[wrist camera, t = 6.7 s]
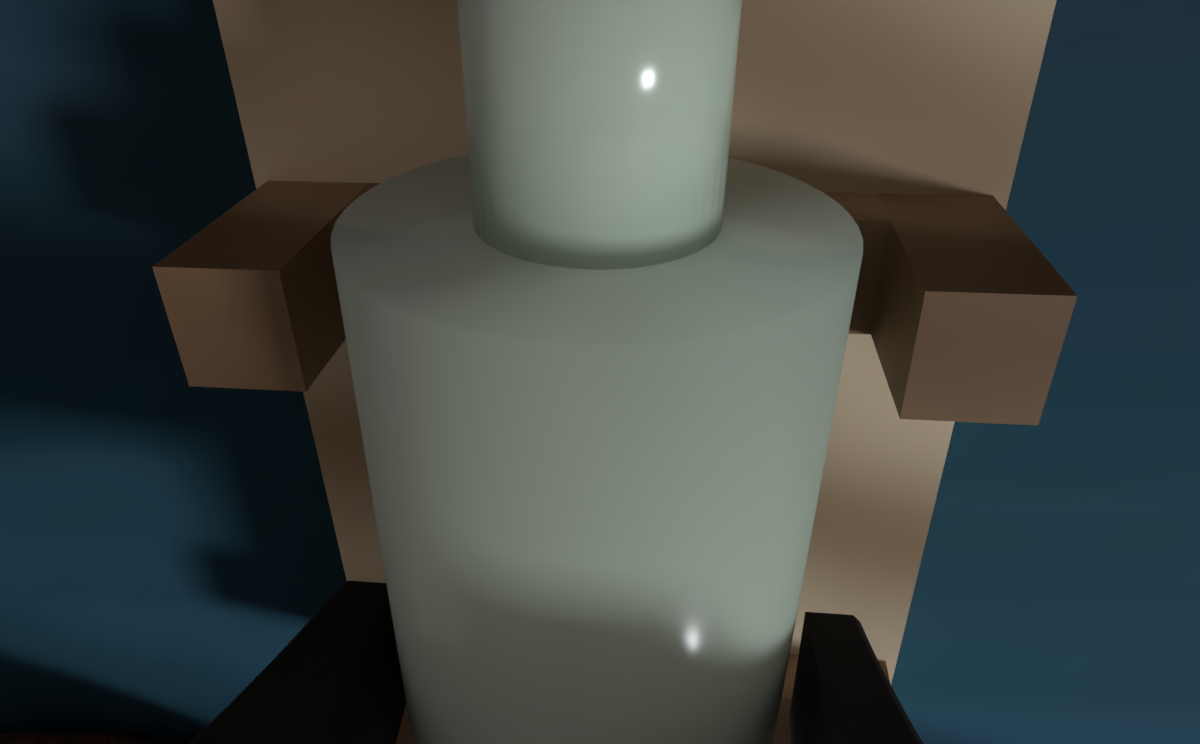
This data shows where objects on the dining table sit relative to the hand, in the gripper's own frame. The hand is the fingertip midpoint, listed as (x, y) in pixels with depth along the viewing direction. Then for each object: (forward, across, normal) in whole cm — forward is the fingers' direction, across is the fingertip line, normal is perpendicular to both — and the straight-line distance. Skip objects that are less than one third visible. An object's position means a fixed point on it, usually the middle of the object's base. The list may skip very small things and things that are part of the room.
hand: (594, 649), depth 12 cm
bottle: (+2, 0, -2) cm, 3 cm away
